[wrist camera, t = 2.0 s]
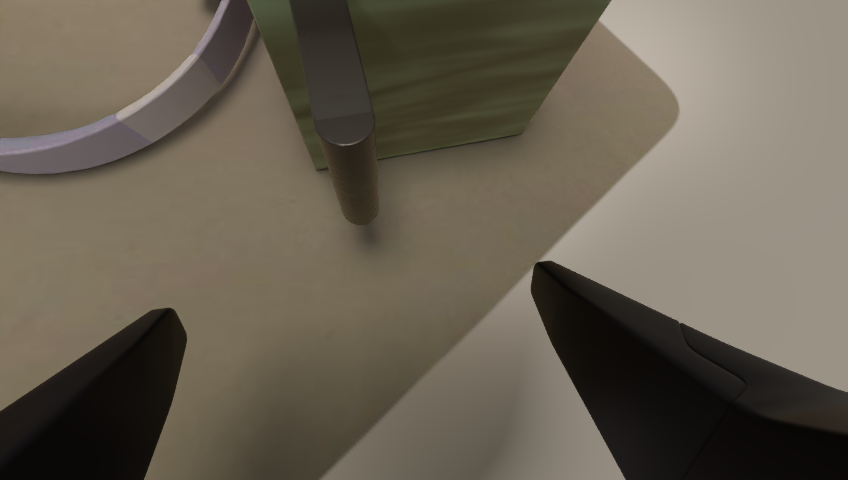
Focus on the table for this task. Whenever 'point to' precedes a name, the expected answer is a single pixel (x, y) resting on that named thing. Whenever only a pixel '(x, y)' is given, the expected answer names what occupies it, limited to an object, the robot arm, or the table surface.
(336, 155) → the door
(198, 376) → the table surface
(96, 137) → the headphones
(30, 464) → the robot arm
